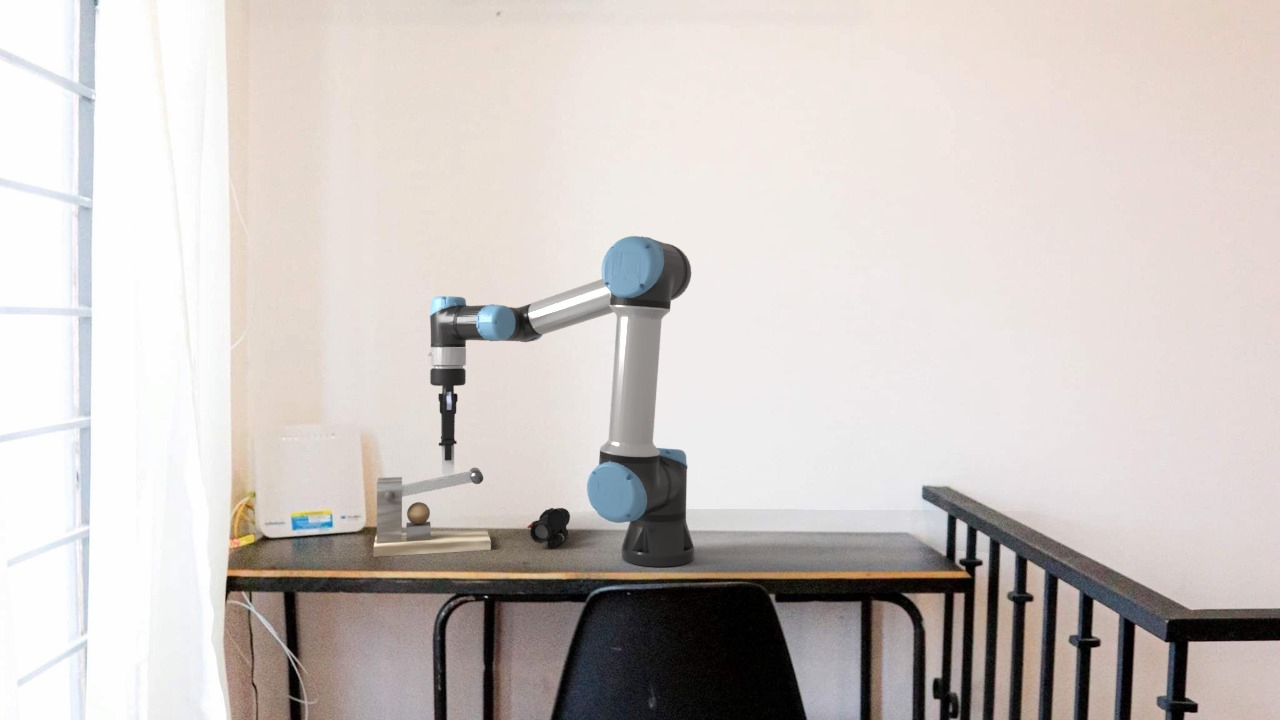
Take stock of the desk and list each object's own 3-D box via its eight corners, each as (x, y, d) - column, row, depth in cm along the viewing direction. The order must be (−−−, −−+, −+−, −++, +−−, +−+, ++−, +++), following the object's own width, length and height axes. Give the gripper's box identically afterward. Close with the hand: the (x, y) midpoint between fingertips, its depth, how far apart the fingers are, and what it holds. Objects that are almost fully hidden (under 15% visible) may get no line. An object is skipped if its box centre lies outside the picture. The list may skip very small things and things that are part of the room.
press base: (490, 549, 173) (491, 480, 172) (373, 556, 166) (373, 484, 166) (485, 537, 184) (486, 472, 184) (375, 543, 178) (376, 475, 177)
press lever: (484, 482, 174) (482, 471, 174) (385, 503, 169) (383, 491, 169) (481, 477, 181) (479, 466, 181) (386, 497, 176) (384, 485, 176)
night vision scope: (560, 542, 190) (592, 517, 188) (535, 563, 172) (570, 536, 171) (540, 516, 191) (571, 490, 189) (513, 534, 173) (547, 506, 171)
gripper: (429, 366, 181) (429, 470, 181) (431, 368, 168) (430, 480, 169) (463, 366, 183) (463, 469, 183) (467, 368, 170) (467, 478, 171)
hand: (447, 474), depth 176 cm, fingers closed
